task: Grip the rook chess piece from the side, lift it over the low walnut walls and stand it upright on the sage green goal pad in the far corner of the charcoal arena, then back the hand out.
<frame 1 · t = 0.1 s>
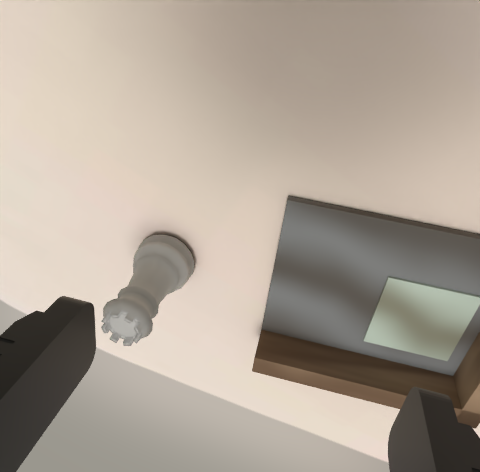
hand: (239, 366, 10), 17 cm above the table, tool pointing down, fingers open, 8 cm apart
rook chess piece: (169, 255, 32), on the table
corner arena: (383, 300, 29), on the table
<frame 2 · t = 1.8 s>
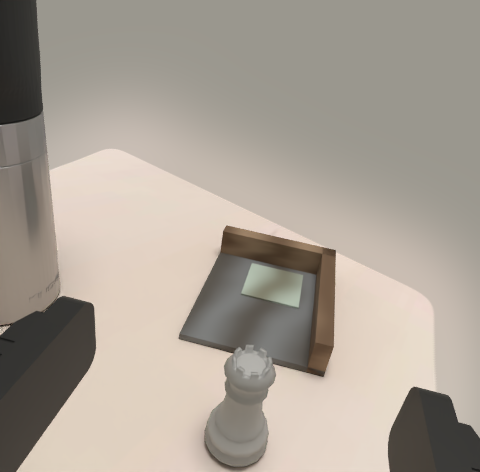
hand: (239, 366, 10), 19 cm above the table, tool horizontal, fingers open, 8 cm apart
rook chess piece: (234, 441, 30), on the table
corner arena: (264, 302, 43), on the table
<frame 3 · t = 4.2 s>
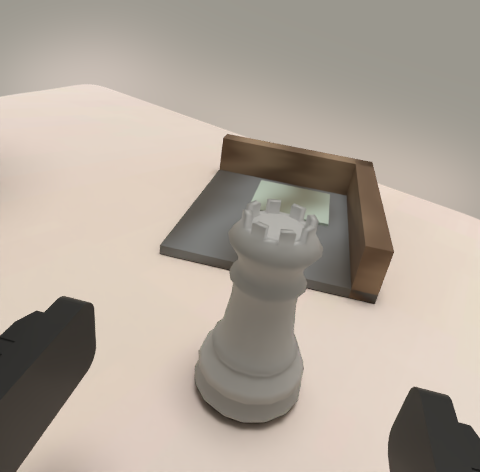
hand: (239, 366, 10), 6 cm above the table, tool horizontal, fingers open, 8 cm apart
rook chess piece: (245, 386, 18), on the table
corner arena: (280, 220, 31), on the table
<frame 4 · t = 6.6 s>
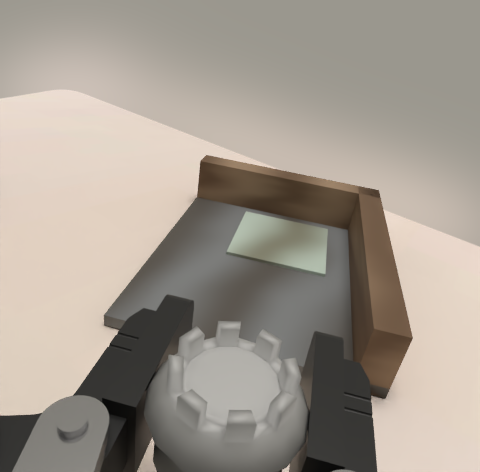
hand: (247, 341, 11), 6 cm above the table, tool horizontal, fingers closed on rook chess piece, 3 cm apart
corner arena: (266, 267, 26), on the table
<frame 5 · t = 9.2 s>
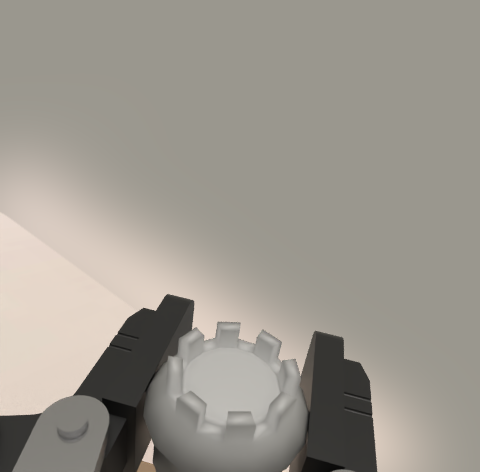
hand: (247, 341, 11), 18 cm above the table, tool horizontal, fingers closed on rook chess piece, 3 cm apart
when the fingers open (8 cm above the table, at t = 11.9 s): rook chess piece stays where it is, resting on corner arena.
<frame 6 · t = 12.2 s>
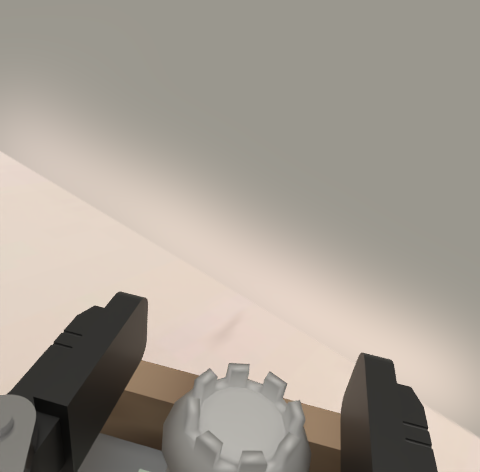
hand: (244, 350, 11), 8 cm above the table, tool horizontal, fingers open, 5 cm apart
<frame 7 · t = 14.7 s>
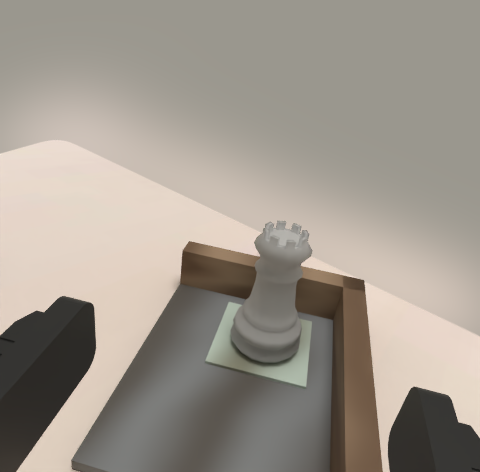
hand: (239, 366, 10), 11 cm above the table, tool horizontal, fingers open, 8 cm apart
rook chess piece: (263, 343, 27), point 1 cm above the table, touching corner arena
corner arena: (246, 375, 25), on the table
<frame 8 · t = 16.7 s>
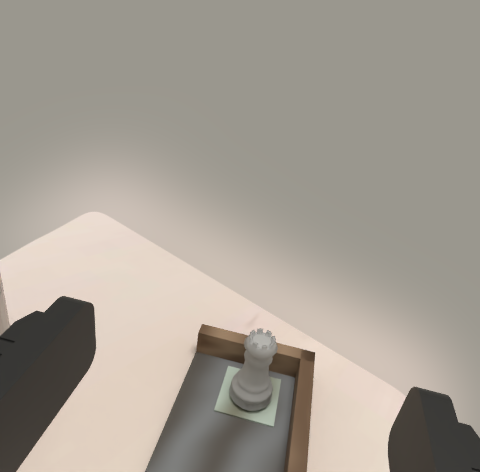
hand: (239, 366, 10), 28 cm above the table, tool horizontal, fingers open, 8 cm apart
rook chess piece: (249, 396, 43), point 1 cm above the table, touching corner arena
corner arena: (238, 417, 41), on the table
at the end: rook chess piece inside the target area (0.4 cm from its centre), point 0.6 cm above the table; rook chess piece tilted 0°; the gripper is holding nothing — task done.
